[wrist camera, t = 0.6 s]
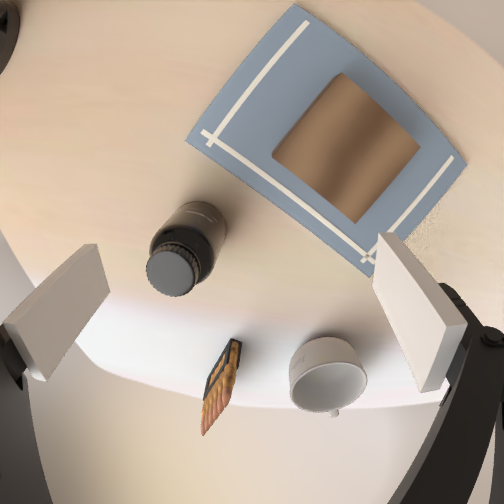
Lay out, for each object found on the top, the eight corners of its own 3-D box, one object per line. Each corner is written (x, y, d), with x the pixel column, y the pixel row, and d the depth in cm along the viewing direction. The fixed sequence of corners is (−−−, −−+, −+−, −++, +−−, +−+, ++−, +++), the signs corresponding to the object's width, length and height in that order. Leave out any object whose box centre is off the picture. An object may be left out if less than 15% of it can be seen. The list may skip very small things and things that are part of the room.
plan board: (187, 139, 33) (184, 140, 32) (293, 6, 26) (294, 3, 25) (367, 274, 39) (369, 278, 38) (463, 163, 32) (467, 165, 31)
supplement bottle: (218, 193, 36) (195, 232, 25) (232, 246, 39) (218, 301, 28) (164, 207, 37) (125, 248, 26) (181, 256, 40) (152, 311, 29)
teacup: (286, 328, 44) (289, 369, 37) (360, 322, 43) (373, 360, 36) (289, 389, 50) (290, 427, 43) (351, 384, 49) (359, 420, 42)
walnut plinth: (271, 152, 33) (271, 157, 29) (333, 76, 29) (341, 72, 25) (346, 212, 35) (355, 224, 31) (405, 142, 31) (420, 147, 27)
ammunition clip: (217, 382, 50) (206, 440, 39) (207, 378, 50) (194, 436, 39) (242, 342, 45) (234, 405, 35) (230, 337, 45) (220, 400, 34)
